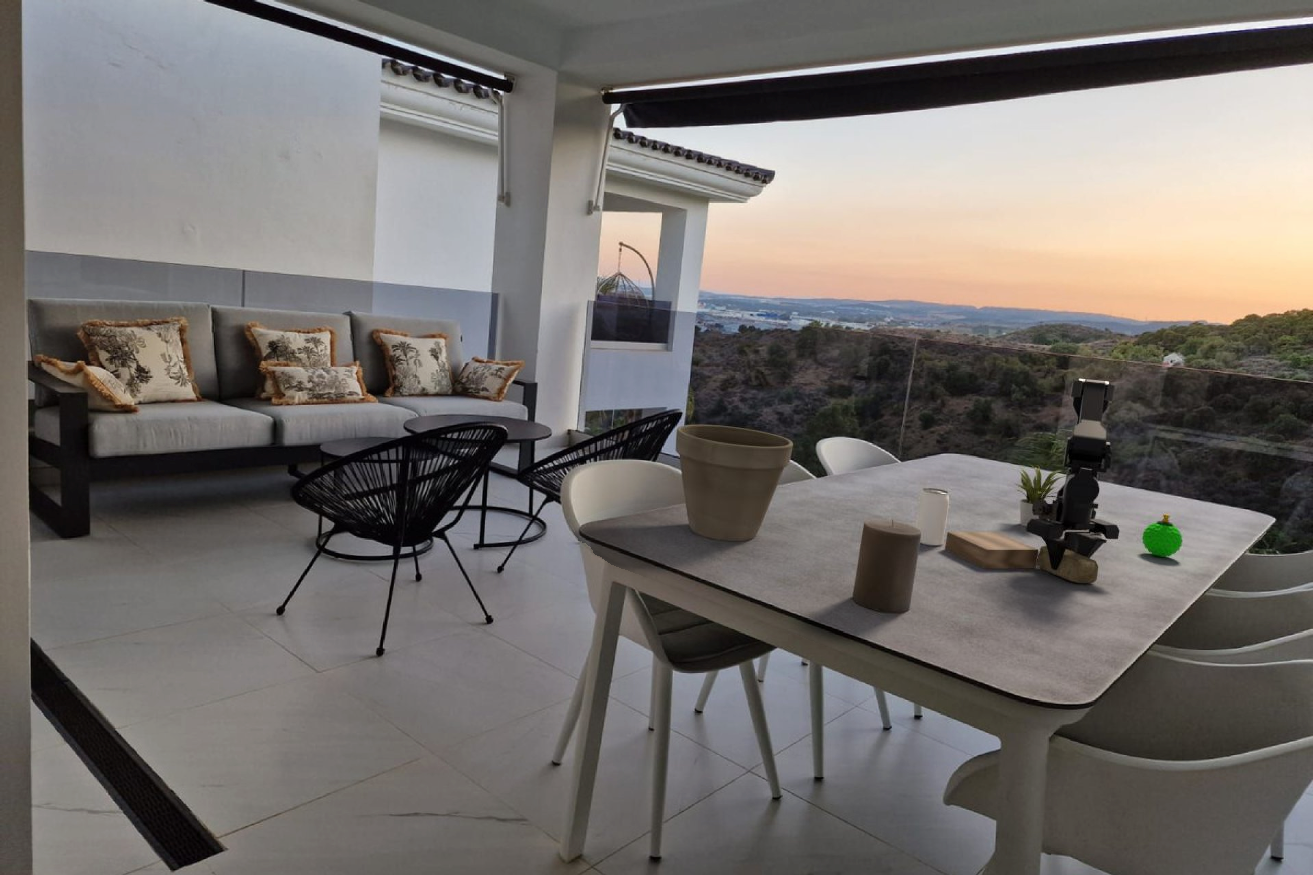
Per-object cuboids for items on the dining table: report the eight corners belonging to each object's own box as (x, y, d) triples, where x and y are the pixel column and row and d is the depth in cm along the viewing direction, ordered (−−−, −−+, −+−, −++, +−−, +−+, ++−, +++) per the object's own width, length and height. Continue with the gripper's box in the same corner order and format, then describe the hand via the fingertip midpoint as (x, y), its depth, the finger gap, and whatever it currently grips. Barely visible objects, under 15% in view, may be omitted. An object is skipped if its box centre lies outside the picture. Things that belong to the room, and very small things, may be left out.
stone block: (1075, 585, 165) (1079, 561, 164) (1032, 567, 176) (1036, 544, 175) (1098, 584, 167) (1102, 560, 166) (1054, 566, 178) (1058, 544, 177)
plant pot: (805, 544, 178) (818, 443, 175) (715, 554, 164) (726, 446, 161) (731, 514, 198) (741, 424, 195) (645, 521, 184) (654, 424, 181)
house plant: (1070, 527, 218) (1080, 466, 215) (1063, 537, 206) (1074, 472, 203) (1012, 516, 225) (1021, 456, 222) (1002, 525, 213) (1012, 462, 211)
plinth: (993, 549, 188) (996, 532, 187) (1035, 567, 176) (1038, 549, 175) (944, 549, 184) (947, 531, 183) (984, 568, 172) (987, 549, 171)
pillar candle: (876, 615, 138) (889, 527, 136) (841, 594, 147) (853, 511, 144) (922, 612, 142) (936, 526, 140) (885, 592, 151) (897, 511, 148)
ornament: (1141, 548, 202) (1148, 508, 200) (1180, 557, 197) (1188, 516, 196) (1137, 555, 195) (1145, 513, 194) (1177, 563, 190) (1185, 521, 189)
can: (944, 547, 185) (952, 495, 183) (914, 543, 186) (922, 491, 185) (940, 540, 192) (948, 489, 190) (911, 536, 193) (919, 485, 191)
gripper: (1084, 486, 179) (1072, 556, 182) (1013, 485, 173) (1001, 557, 176) (1127, 499, 169) (1113, 573, 171) (1053, 498, 163) (1040, 574, 165)
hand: (1066, 569), depth 171 cm, fingers closed on stone block, 6 cm apart
